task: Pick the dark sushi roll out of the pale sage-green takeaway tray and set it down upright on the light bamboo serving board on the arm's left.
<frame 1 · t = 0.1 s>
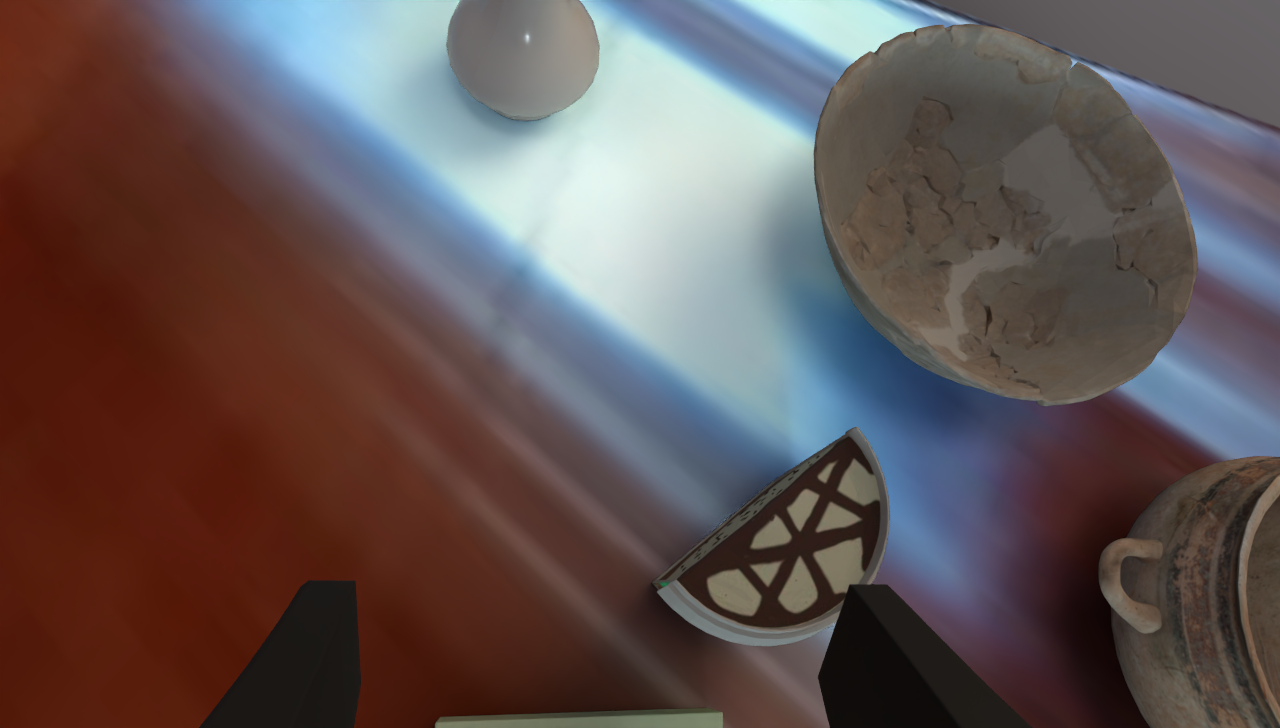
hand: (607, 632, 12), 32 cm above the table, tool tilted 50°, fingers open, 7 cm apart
ceramic bowl: (920, 275, 53), on the table
flower vase: (511, 87, 53), on the table
food container: (748, 574, 45), on the table
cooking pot: (1193, 641, 48), on the table
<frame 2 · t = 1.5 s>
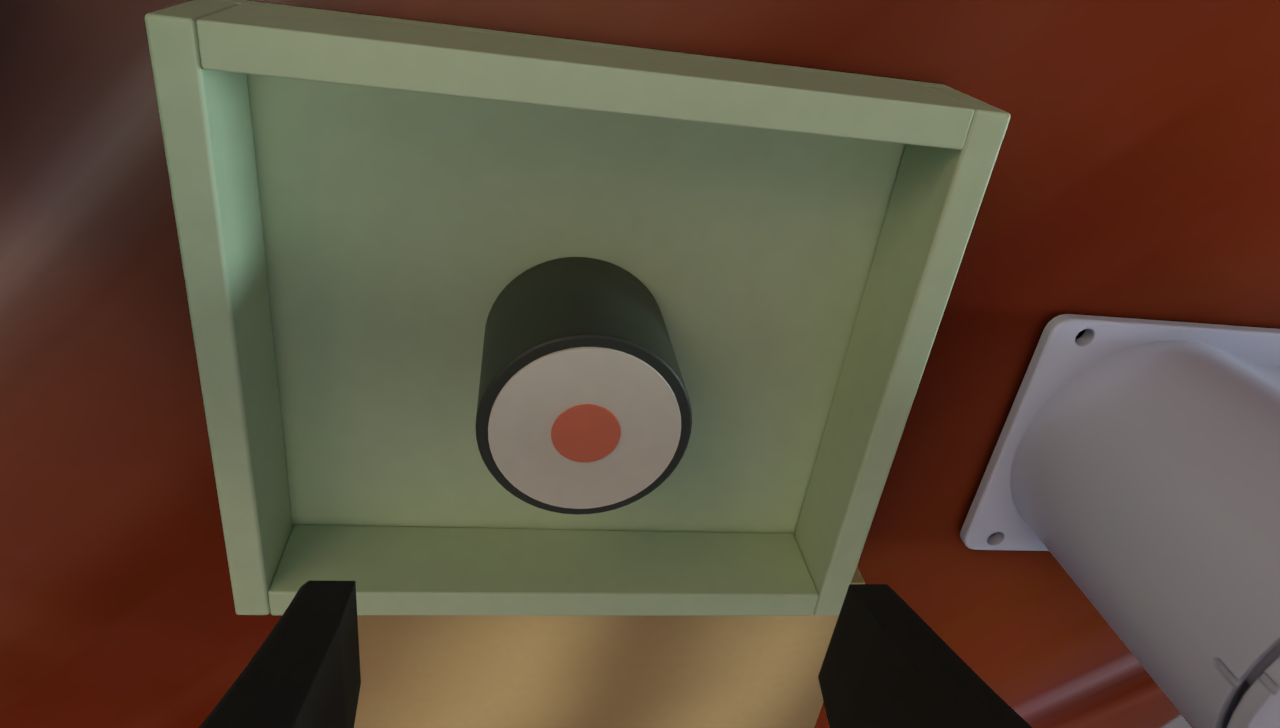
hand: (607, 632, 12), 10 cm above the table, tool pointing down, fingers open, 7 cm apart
sushi roll: (575, 339, 20), resting on tray
tray: (574, 330, 20), on the table
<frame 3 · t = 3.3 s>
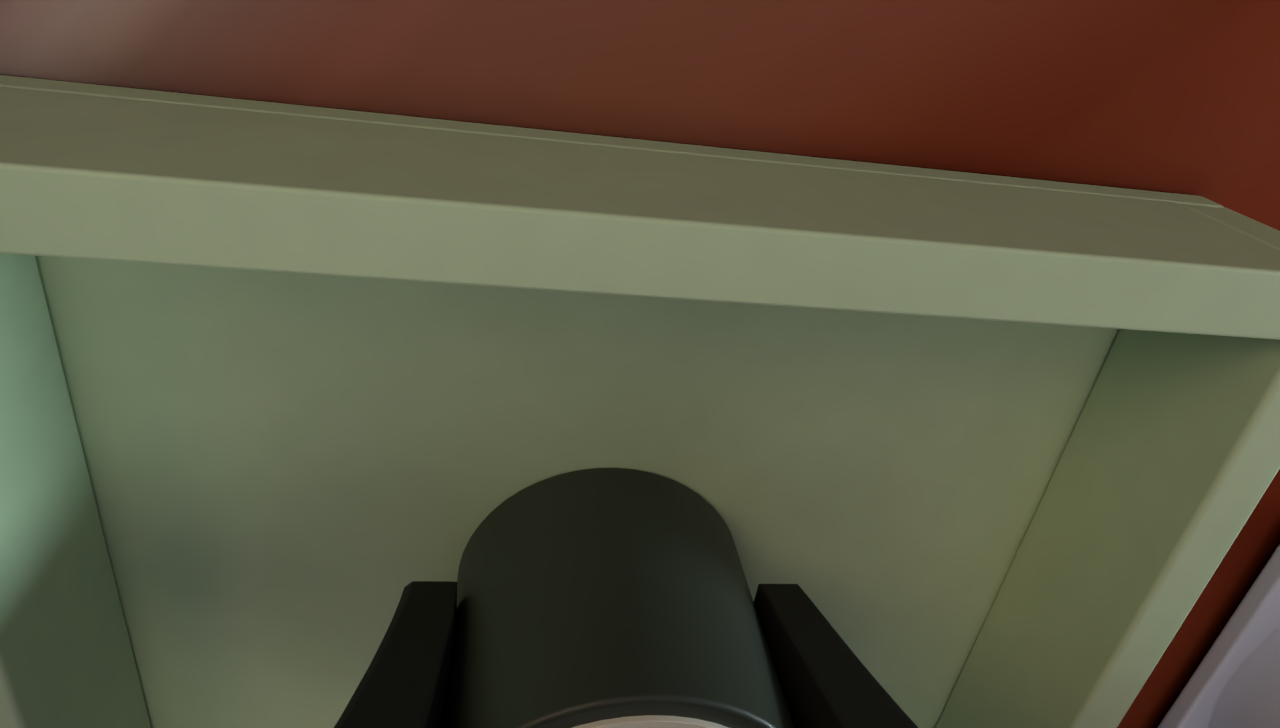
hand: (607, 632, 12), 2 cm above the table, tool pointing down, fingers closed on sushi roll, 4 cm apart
sushi roll: (599, 577, 13), point 1 cm above the table, touching gripper, tray
tray: (597, 555, 13), on the table
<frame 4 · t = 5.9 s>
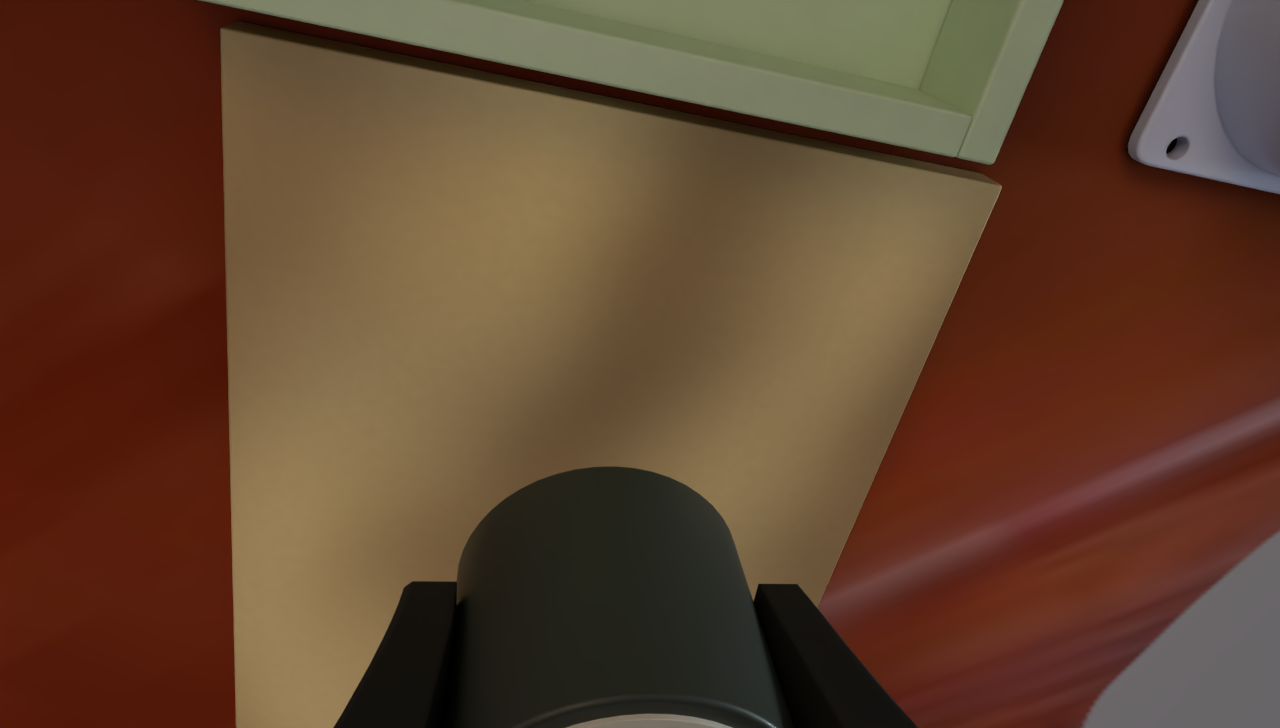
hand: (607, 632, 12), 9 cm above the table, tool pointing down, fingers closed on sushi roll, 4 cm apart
sushi roll: (599, 576, 13), point 8 cm above the table, touching gripper
board: (563, 481, 22), on the table
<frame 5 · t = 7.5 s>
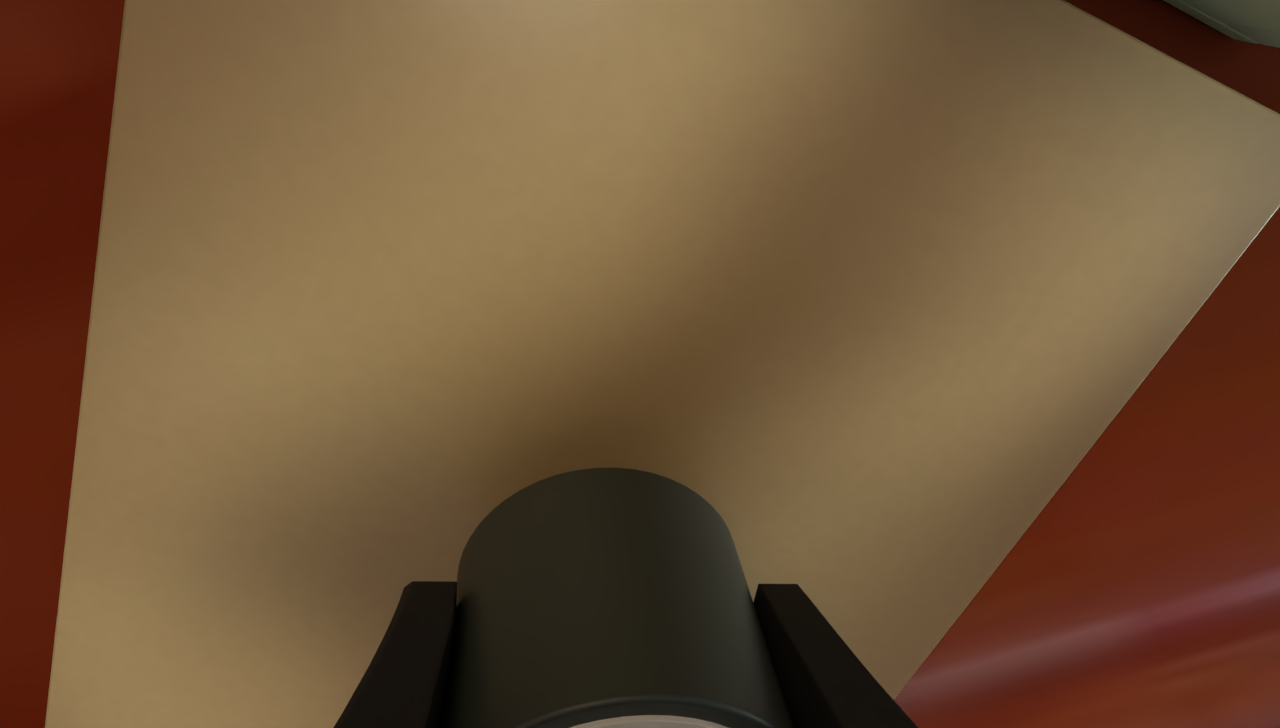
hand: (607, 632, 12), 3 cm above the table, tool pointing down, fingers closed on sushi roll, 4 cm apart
sushi roll: (599, 577, 13), point 2 cm above the table, touching gripper
board: (591, 485, 15), on the table
when the fingers open (2 cm above the table, at t = 8.4 s): sushi roll stays where it is, resting on board.
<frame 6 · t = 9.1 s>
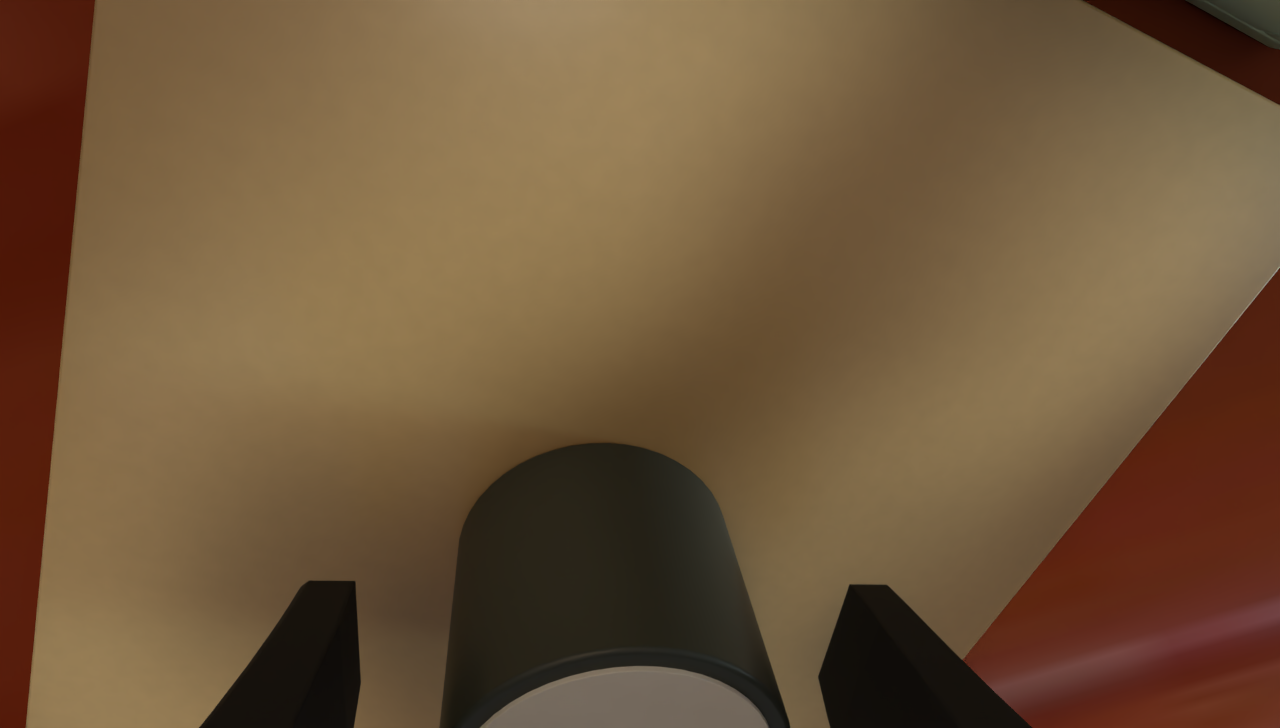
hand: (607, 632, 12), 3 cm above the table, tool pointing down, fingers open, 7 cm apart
sushi roll: (594, 550, 13), point 1 cm above the table, touching board
board: (593, 511, 14), on the table
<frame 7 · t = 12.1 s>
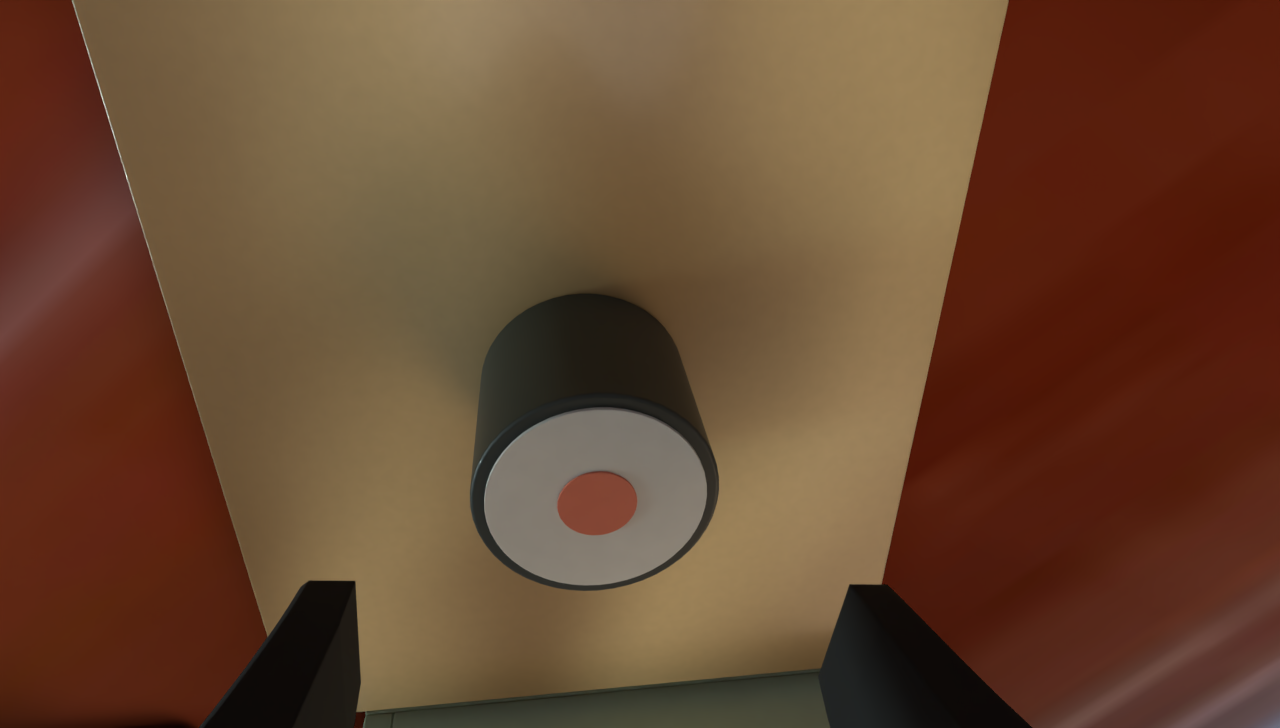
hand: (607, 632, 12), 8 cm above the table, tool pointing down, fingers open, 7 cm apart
sushi roll: (583, 384, 18), point 1 cm above the table, touching board
board: (578, 362, 18), on the table
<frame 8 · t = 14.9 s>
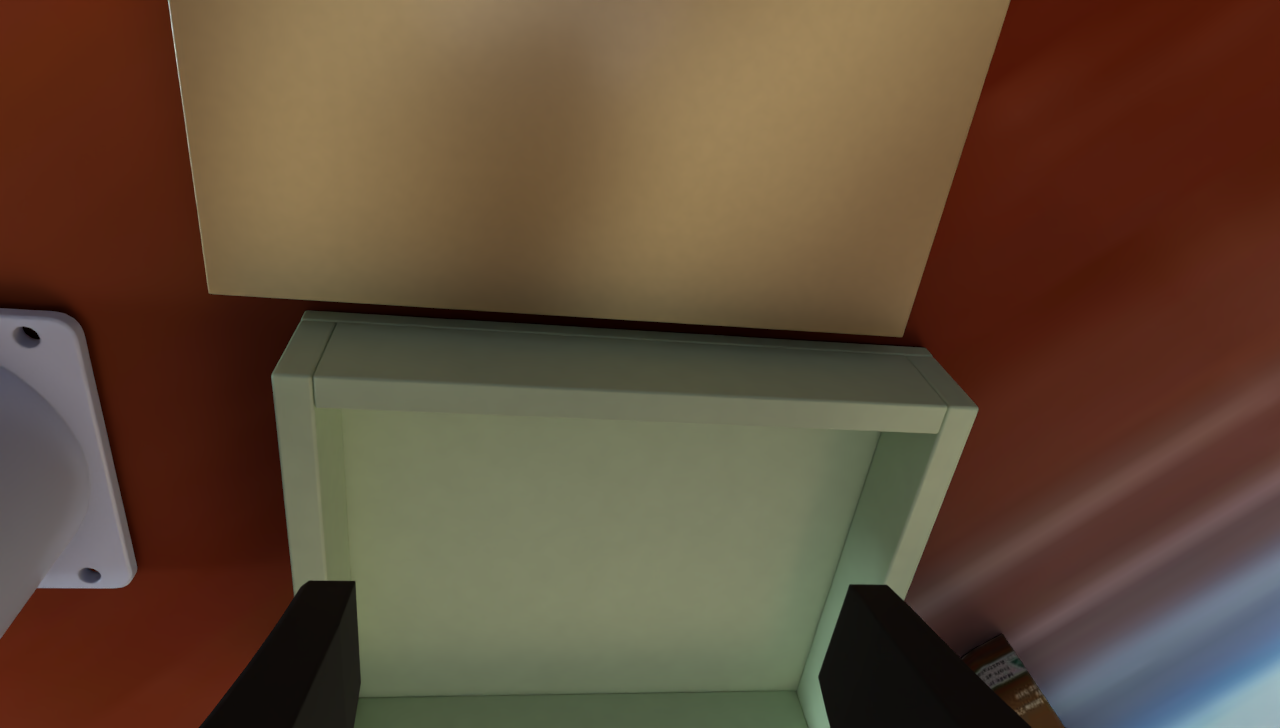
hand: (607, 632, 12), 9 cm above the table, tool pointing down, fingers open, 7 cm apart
tray: (606, 538, 23), on the table
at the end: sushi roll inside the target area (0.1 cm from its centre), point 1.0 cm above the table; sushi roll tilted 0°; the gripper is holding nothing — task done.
